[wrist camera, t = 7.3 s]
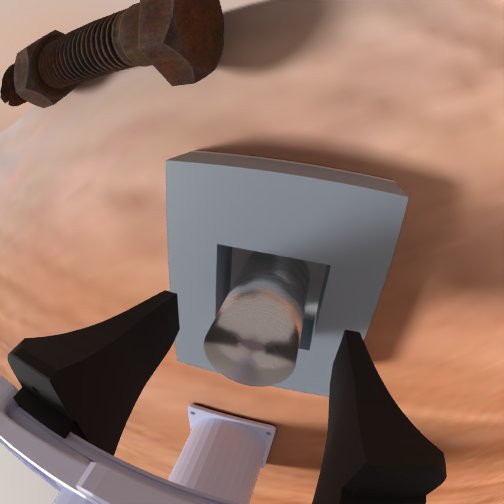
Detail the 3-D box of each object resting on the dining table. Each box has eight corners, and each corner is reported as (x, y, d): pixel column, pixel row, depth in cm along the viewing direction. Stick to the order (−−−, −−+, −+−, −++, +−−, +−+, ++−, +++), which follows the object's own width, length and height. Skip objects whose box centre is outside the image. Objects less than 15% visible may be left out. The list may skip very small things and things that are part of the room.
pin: (308, 306, 17) (294, 391, 12) (245, 301, 18) (210, 378, 12) (310, 248, 15) (298, 325, 10) (240, 244, 16) (197, 313, 11)
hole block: (340, 363, 19) (338, 398, 16) (195, 331, 21) (177, 360, 18) (394, 180, 13) (408, 197, 11) (194, 150, 15) (165, 160, 12)
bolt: (51, 73, 17) (233, 26, 13) (29, 130, 16) (215, 99, 13) (2, 40, 11) (193, -54, 7) (-30, 104, 11) (153, 16, 7)
